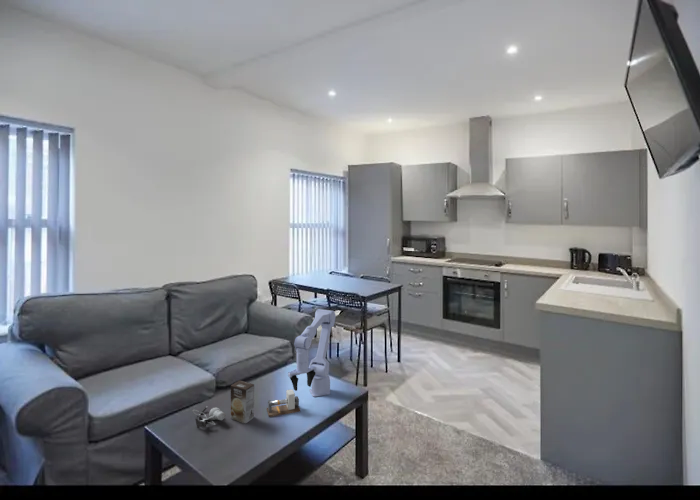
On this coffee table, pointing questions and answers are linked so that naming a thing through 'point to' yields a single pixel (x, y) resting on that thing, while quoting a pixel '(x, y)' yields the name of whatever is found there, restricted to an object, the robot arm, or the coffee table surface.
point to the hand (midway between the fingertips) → (302, 387)
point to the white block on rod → (290, 399)
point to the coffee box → (242, 401)
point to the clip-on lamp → (213, 414)
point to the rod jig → (281, 407)
